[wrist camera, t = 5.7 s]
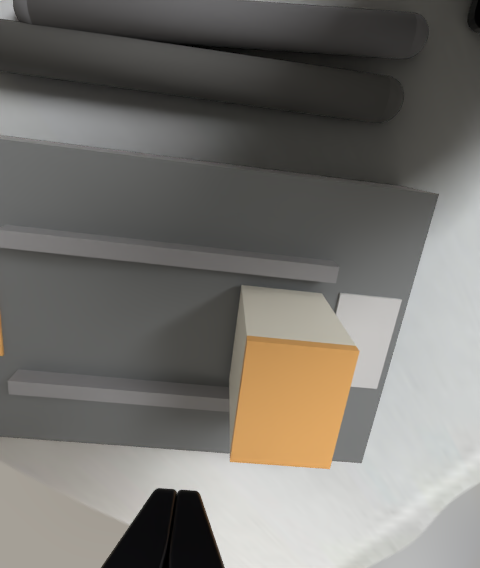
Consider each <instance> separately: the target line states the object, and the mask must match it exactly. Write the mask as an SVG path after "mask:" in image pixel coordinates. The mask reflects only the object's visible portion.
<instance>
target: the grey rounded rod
mask: <svg viewBox="0 0 480 568" xmlns="http://www.w3.org/2000/svg"><path fill="white" fill-rule="evenodd" d="M0 71H3V72H10V73H17V74H24V75H32V76H39V77H46V78H53V79H61V80H68V81H75V82H82V83H90V84H97V85H104V86H111V87H119V88H126V89H133V90H140V91H148V92H155V93H162V94H169V95H177V96H184V97H191V98H198V99H206V100H213V101H220V102H227V103H235V104H242V105H249V106H256V107H264V108H271V109H278V110H285V111H293V112H300V113H307V114H314V115H322V116H329V117H336V118H343V119H351V120H358V121H365V122H372V123H382V122H385V121H388V120H390V119H391V118H393V117H394V116H395V115H396V114H397V113H398V111H399V110H400V108H401V106H402V104H403V99H404V93H403V89H402V86H401V85H400V83H399V82H398V81H397V80H396V79H394V78H393V77H390V76H385V75H379V74H372V73H365V72H358V71H351V70H345V69H338V68H331V67H324V66H317V65H311V64H304V63H297V62H290V61H283V60H277V59H270V58H263V57H256V56H249V55H243V54H236V53H229V52H222V51H215V50H209V49H202V48H195V47H188V46H181V45H175V44H168V43H161V42H154V41H147V40H141V39H134V38H127V37H120V36H113V35H107V34H100V33H92V32H85V31H78V30H70V29H63V28H55V27H48V26H40V25H32V24H27V23H23V22H18V21H11V20H5V19H0Z"/></svg>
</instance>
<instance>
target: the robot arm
mask: <svg viewBox="0 0 480 568" xmlns="http://www.w3.org/2000/svg"><path fill="white" fill-rule="evenodd" d="M468 25H469V27H470V29H471V30H472V31H474V32H476V33H480V0H472V3H471V7H470V11H469V14H468ZM101 568H225V567H224V564H223V561H222V558H221V555H220V552H219V549H218V546H217V543H216V541H215V538H214V535H213V532H212V529H211V526H210V523H209V520H208V517H207V514H206V511H205V508H204V505H203V502H202V499H201V496H200V494H199V492H197V491H190V490H180V491H178V493H177V492H176V491H175V490H174V489H162V488H158V489H156V490H155V491H154V492H153V493H152V494H151V496H150V497H149V499H148V500H147V502H146V503H145V505H144V506H143V507H142V509H141V510H140V512H139V513H138V515H137V516H136V518H135V519H134V521H133V522H132V523H131V525H130V526H129V528H128V529H127V531H126V532H125V534H124V535H123V537H122V538H121V539H120V541H119V542H118V544H117V545H116V547H115V548H114V550H113V551H112V553H111V554H110V555H109V557H108V558H107V560H106V561H105V563H104V564H103V566H102V567H101Z"/></svg>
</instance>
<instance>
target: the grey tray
mask: <svg viewBox="0 0 480 568" xmlns="http://www.w3.org/2000/svg"><path fill="white" fill-rule="evenodd" d="M438 195H439V194H435V193H431V192H426V191H422V190H417V189H413V188H408V187H404V186H397V185H389V184H381V183H373V182H366V181H358V180H350V179H342V178H334V177H326V176H318V175H310V174H302V173H294V172H287V171H279V170H271V169H263V168H255V167H247V166H239V165H231V164H223V163H215V162H208V161H200V160H192V159H184V158H176V157H168V156H160V155H152V154H144V153H136V152H129V151H121V150H113V149H105V148H97V147H89V146H81V145H73V144H65V143H57V142H49V141H42V140H34V139H26V138H18V137H10V136H2V135H0V437H13V438H27V439H40V440H54V441H67V442H81V443H95V444H108V445H122V446H136V447H149V448H163V449H176V450H190V451H204V452H217V453H230V409H229V377H230V369H231V361H232V354H233V346H234V338H235V331H236V323H237V316H238V308H239V300H240V293H241V285H247V286H256V287H266V288H275V289H285V290H295V291H304V292H314V293H322V294H323V296H324V297H325V299H326V300H327V302H328V304H329V305H330V307H331V308H332V310H333V311H334V313H335V314H336V316H337V317H338V319H339V320H340V322H341V324H342V325H343V327H344V328H345V330H346V331H347V333H348V334H349V336H350V337H351V339H352V340H353V342H354V344H355V345H356V347H357V348H358V350H359V351H360V352H359V356H358V360H357V364H356V368H355V371H354V375H353V379H352V383H351V387H350V391H349V395H348V399H347V403H346V407H345V411H344V415H343V419H342V423H341V426H340V430H339V434H338V438H337V442H336V446H335V450H334V454H333V458H332V461H340V462H354V463H362V459H363V456H364V452H365V449H366V446H367V442H368V439H369V435H370V432H371V428H372V425H373V421H374V418H375V414H376V411H377V407H378V404H379V400H380V397H381V393H382V390H383V386H384V383H385V379H386V376H387V372H388V369H389V365H390V362H391V359H392V355H393V352H394V348H395V345H396V341H397V338H398V334H399V331H400V327H401V324H402V320H403V317H404V313H405V310H406V306H407V303H408V299H409V296H410V292H411V289H412V285H413V282H414V278H415V275H416V272H417V268H418V265H419V261H420V258H421V254H422V251H423V247H424V244H425V240H426V237H427V233H428V230H429V226H430V223H431V219H432V216H433V212H434V209H435V205H436V202H437V198H438Z"/></svg>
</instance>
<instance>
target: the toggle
mask: <svg viewBox="0 0 480 568" xmlns="http://www.w3.org/2000/svg"><path fill="white" fill-rule="evenodd" d="M359 352H360V351H359V350H358V348H357V347H356V345H355V344H354V342H353V340H352V339H351V337H350V336H349V334H348V333H347V331H346V330H345V328H344V327H343V325H342V324H341V322H340V320H339V319H338V317H337V316H336V314H335V313H334V311H333V310H332V308H331V307H330V305H329V304H328V302H327V300H326V299H325V297H324V296H323V294H322V293H314V292H304V291H295V290H285V289H275V288H266V287H256V286H247V285H241V293H240V300H239V308H238V316H237V323H236V331H235V338H234V346H233V354H232V361H231V369H230V377H229V409H230V462H240V463H254V464H268V465H282V466H295V467H309V468H323V469H330V466H331V462H332V458H333V454H334V450H335V446H336V442H337V438H338V434H339V430H340V426H341V423H342V419H343V415H344V411H345V407H346V403H347V399H348V395H349V391H350V387H351V383H352V379H353V375H354V371H355V368H356V364H357V360H358V356H359Z"/></svg>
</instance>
